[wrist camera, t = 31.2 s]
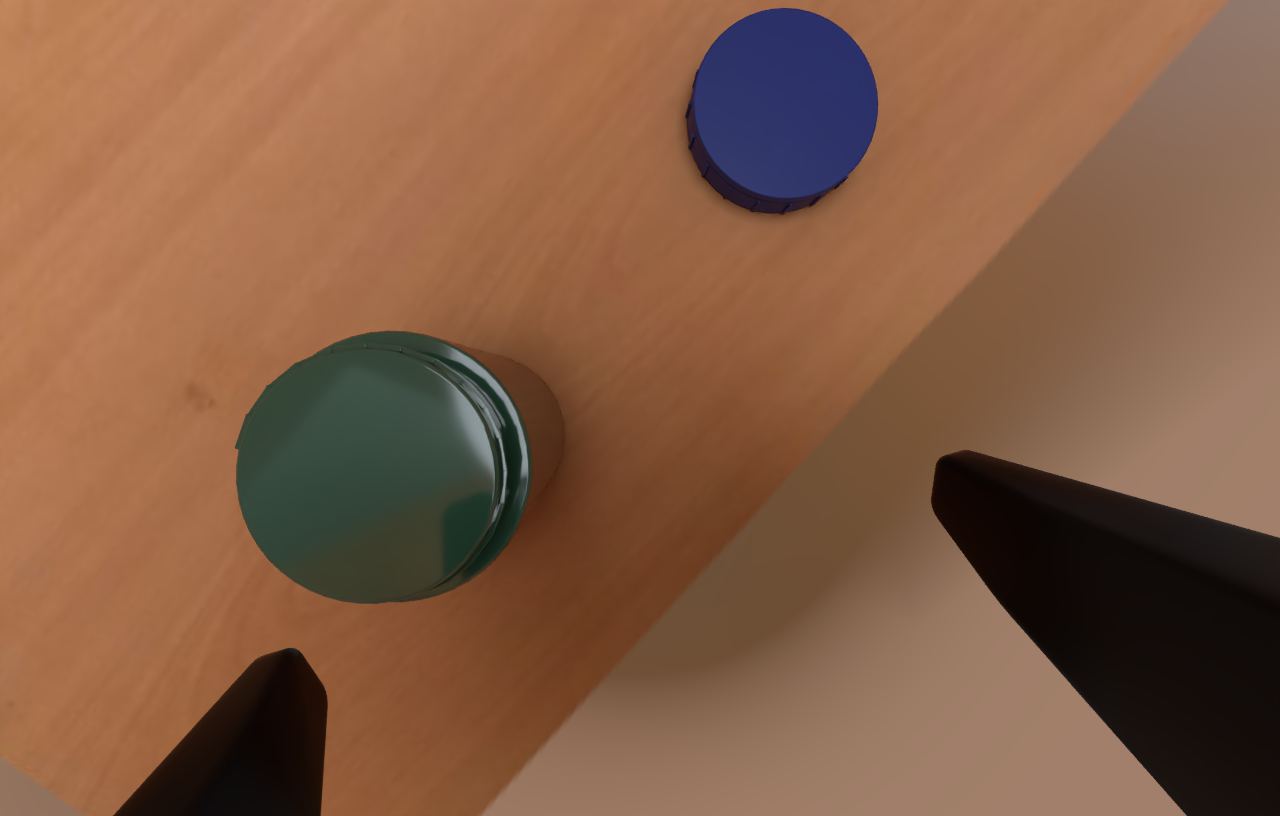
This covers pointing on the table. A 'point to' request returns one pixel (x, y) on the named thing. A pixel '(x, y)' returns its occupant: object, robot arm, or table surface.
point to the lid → (781, 110)
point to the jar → (395, 465)
